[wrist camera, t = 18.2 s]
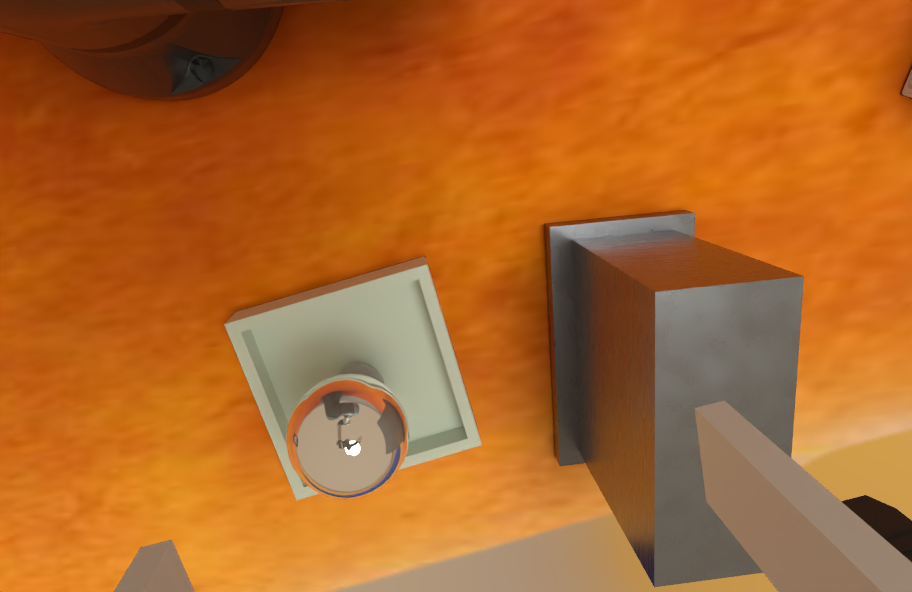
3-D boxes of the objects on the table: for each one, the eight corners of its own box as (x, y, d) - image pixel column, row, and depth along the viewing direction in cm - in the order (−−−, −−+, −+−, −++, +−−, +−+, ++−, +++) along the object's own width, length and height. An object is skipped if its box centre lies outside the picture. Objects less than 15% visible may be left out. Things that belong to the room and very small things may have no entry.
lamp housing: (554, 455, 47) (626, 606, 32) (544, 223, 42) (622, 273, 27) (681, 440, 47) (808, 581, 32) (684, 210, 43) (836, 251, 28)
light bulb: (400, 322, 42) (394, 394, 30) (419, 412, 44) (420, 513, 32) (301, 341, 42) (257, 420, 30) (325, 431, 44) (291, 537, 32)
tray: (302, 478, 46) (296, 500, 43) (235, 312, 42) (224, 324, 39) (477, 426, 46) (481, 445, 43) (425, 255, 42) (427, 264, 39)
